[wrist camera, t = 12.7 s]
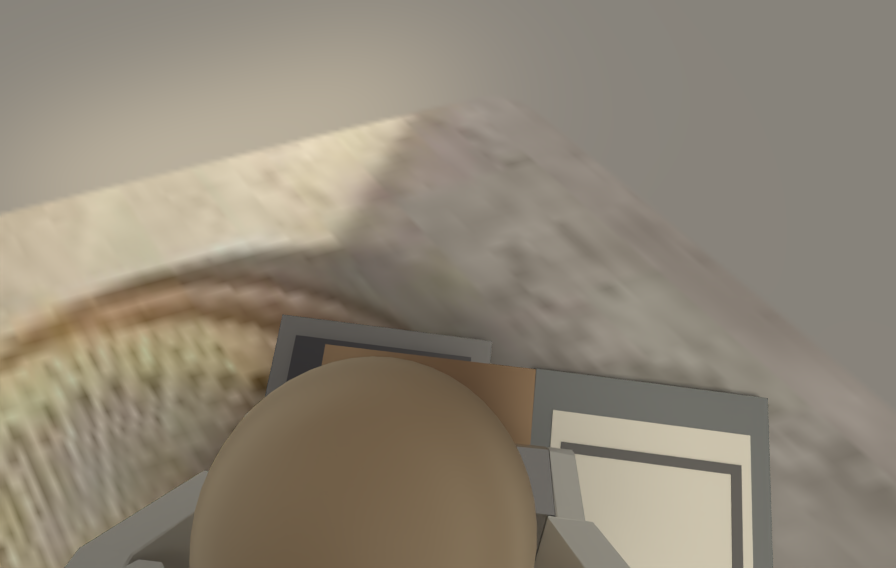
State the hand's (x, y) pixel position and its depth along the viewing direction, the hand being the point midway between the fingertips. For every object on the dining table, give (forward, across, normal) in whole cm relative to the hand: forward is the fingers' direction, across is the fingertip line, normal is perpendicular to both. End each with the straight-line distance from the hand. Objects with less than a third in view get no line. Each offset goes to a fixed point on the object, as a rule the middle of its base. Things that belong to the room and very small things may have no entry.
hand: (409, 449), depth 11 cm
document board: (+9, -11, +15) cm, 21 cm away
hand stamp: (+4, 0, +5) cm, 6 cm away
